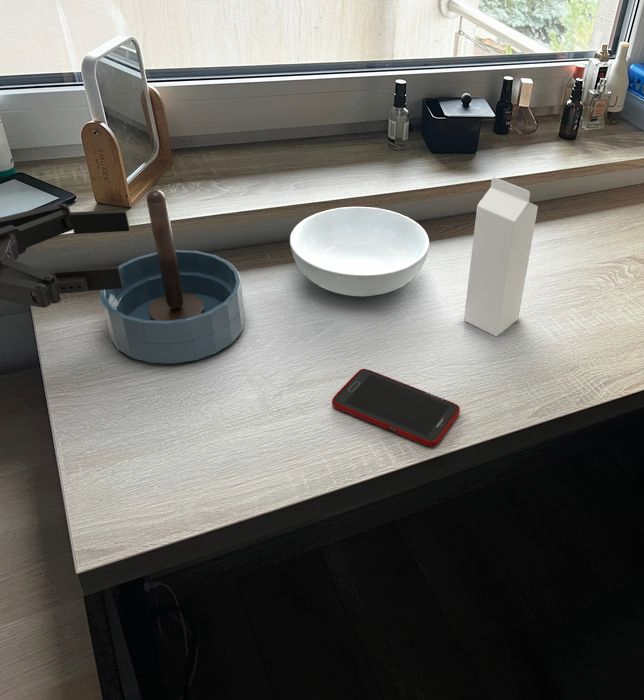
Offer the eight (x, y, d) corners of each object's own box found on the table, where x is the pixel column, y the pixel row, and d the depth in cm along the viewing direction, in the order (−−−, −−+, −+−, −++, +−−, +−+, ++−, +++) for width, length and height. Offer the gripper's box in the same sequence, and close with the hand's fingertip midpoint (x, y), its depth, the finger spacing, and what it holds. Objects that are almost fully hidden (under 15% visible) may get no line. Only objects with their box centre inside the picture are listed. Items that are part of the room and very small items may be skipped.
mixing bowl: (140, 384, 90) (129, 339, 85) (92, 314, 99) (80, 271, 95) (267, 338, 99) (263, 296, 95) (212, 279, 109) (206, 238, 104)
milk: (485, 304, 111) (504, 169, 97) (519, 319, 108) (542, 184, 95) (462, 321, 107) (478, 182, 93) (496, 338, 104) (518, 198, 91)
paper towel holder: (164, 345, 95) (136, 209, 83) (143, 318, 99) (114, 185, 87) (215, 327, 99) (195, 196, 86) (193, 302, 103) (171, 173, 90)
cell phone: (361, 372, 95) (361, 366, 95) (462, 411, 91) (462, 405, 91) (328, 406, 90) (328, 400, 89) (434, 450, 85) (434, 444, 85)
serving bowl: (401, 235, 124) (402, 199, 120) (446, 303, 110) (450, 264, 106) (279, 250, 117) (276, 212, 113) (310, 325, 102) (308, 284, 98)
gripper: (-41, 233, 94) (135, 224, 100) (-96, 351, 76) (123, 331, 82) (-61, 180, 90) (124, 174, 96) (-125, 292, 71) (109, 275, 77)
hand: (124, 247), depth 89 cm, fingers open, 13 cm apart
